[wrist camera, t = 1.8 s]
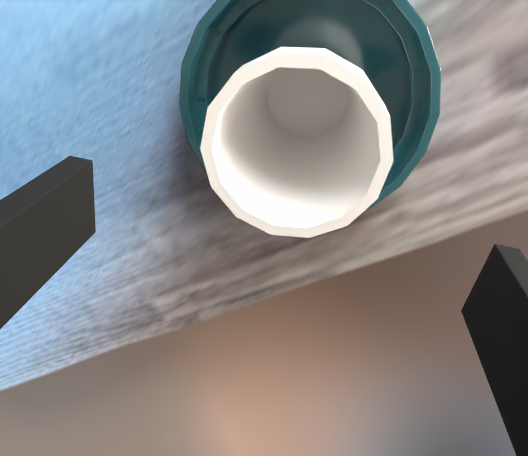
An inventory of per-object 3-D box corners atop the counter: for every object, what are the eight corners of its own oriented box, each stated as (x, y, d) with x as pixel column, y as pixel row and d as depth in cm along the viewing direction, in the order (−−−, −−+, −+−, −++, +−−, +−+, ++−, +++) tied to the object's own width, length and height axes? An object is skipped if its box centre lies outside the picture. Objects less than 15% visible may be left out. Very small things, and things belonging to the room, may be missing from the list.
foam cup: (245, 151, 36) (204, 228, 24) (245, 26, 31) (194, 49, 20) (364, 159, 34) (379, 243, 23) (381, 30, 30) (411, 58, 19)
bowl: (189, 176, 38) (173, 198, 34) (208, -59, 29) (188, -66, 25) (387, 216, 37) (393, 243, 33) (464, -13, 29) (485, -13, 25)
